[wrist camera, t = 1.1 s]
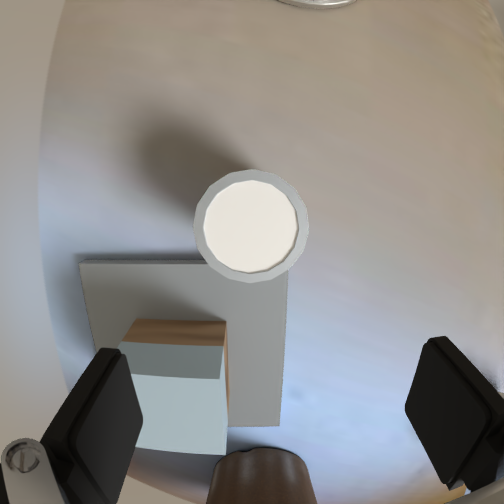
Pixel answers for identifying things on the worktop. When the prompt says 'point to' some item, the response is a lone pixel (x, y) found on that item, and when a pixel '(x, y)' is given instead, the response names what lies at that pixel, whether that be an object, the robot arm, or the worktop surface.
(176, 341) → the brick
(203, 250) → the white rounded piece
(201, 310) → the plate
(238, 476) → the plant pot
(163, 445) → the brick
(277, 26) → the worktop surface
